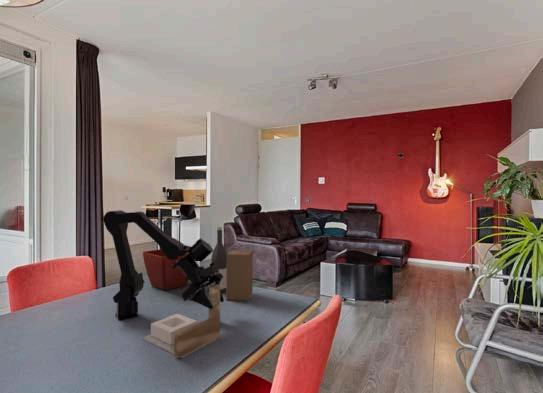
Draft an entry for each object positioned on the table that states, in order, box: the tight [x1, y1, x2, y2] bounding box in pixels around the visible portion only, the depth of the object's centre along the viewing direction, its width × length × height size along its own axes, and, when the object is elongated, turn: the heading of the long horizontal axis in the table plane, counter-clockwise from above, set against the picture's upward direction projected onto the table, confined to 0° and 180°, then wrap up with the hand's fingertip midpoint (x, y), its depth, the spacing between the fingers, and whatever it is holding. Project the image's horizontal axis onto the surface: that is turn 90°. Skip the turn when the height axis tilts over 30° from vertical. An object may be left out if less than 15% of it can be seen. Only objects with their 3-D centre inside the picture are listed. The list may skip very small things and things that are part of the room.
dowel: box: [207, 285, 221, 319], centre depth 108 cm, size 4×4×13 cm
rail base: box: [142, 316, 221, 359], centre depth 95 cm, size 18×16×7 cm
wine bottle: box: [210, 226, 228, 293], centre depth 144 cm, size 8×8×30 cm
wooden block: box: [225, 249, 254, 302], centre depth 135 cm, size 10×10×20 cm
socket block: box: [150, 313, 198, 345], centre depth 97 cm, size 10×10×4 cm
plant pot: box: [142, 248, 190, 291], centre depth 150 cm, size 19×19×17 cm
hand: (217, 304), depth 107 cm, fingers open, 7 cm apart
